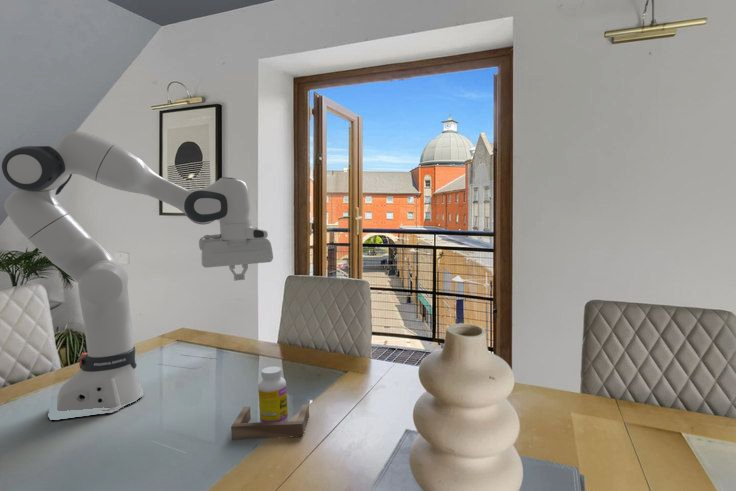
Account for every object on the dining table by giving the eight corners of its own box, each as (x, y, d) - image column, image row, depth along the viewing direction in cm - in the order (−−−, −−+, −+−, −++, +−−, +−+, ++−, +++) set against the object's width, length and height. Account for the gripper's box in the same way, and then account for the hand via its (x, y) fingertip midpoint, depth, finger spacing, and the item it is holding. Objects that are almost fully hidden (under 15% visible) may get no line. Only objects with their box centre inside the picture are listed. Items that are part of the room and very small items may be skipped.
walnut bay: (244, 418, 109) (243, 406, 109) (309, 416, 109) (308, 404, 109) (231, 439, 99) (231, 426, 99) (302, 436, 99) (302, 423, 99)
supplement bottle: (283, 428, 103) (280, 375, 102) (256, 427, 104) (252, 374, 103) (291, 415, 110) (288, 364, 109) (266, 414, 111) (263, 364, 110)
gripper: (199, 235, 122) (202, 285, 123) (272, 231, 131) (275, 277, 132) (197, 235, 128) (201, 282, 129) (268, 231, 136) (271, 275, 137)
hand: (239, 280), depth 130 cm, fingers closed
